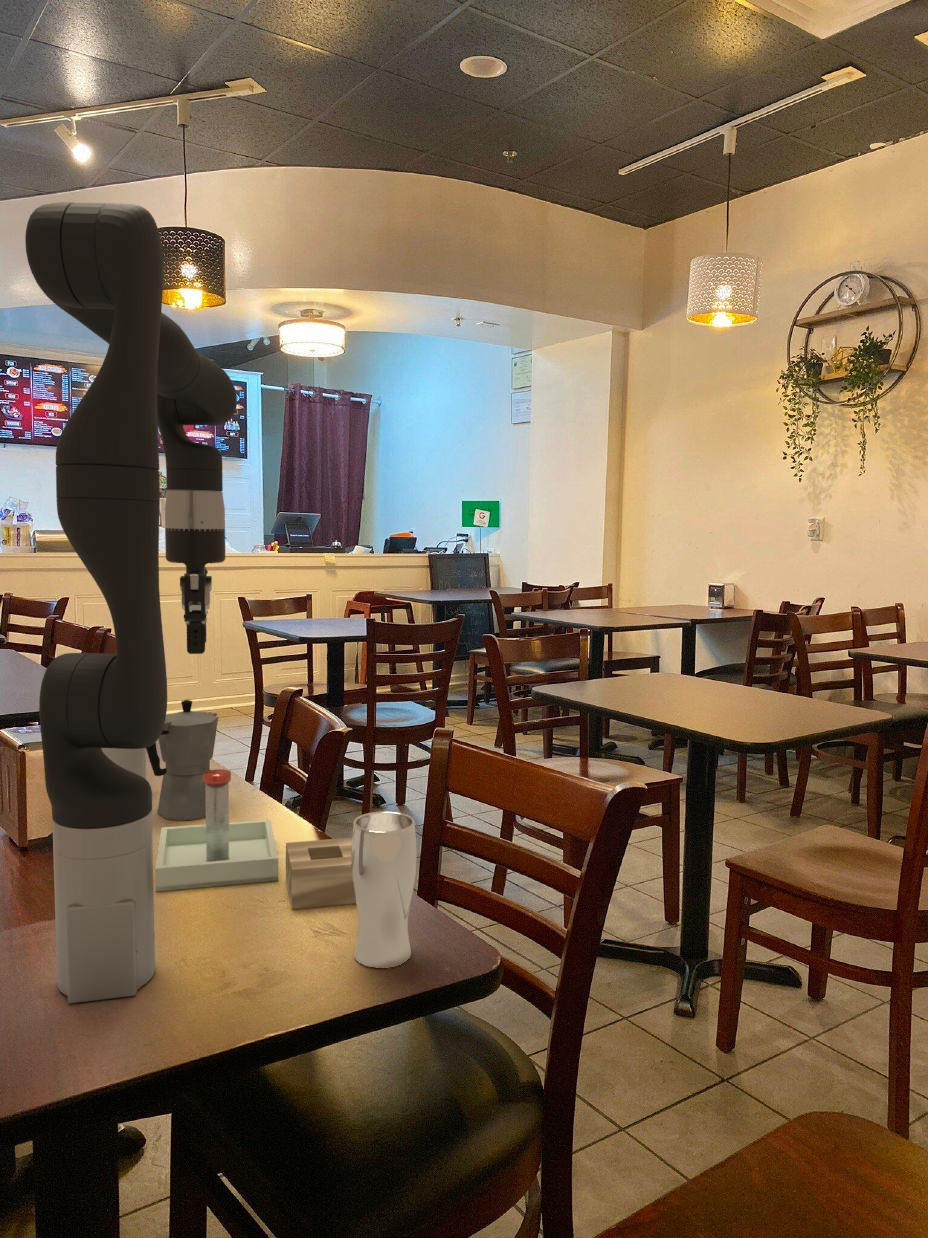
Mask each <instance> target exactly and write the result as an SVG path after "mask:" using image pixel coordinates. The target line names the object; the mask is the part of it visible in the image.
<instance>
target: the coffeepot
mask: <svg viewBox="0 0 928 1238" xmlns="http://www.w3.org/2000/svg"><path fill="white" fill-rule="evenodd" d="M192 705H193V700H190V699H185V700H182V701H181V707H182V711H178V712H174V713H169V714H166V719H165V723H164V727H163V730H162V733H161V735H160V737H159V738H158V744H159V749H160V753H161V754H160V755H161V758H160V756H159V754H158V749H157V743H156V742H155V743H154V744H153V745H152V746H150V747H147V748H145V751H146V753H147V756H148V759H149V762H150V763H149V764H150V766H151V768H152V772H153V775H154V776H155V777H161V776H162V781H161V789H160V793H159V794H160V795H159V801H158V806H157V814H158V815H159V816H160V817H161V818H163V819H166V820H168V821H176V822H177V821H178V822H181V821H182V822H183V821H185V822H187V821H197V820H201V819H206V795H205V783H204V782H203V773H204V772H206V771H209V770H211V766H210V765H211V762H210V761H211V760H212V758H213V757H214V750H215V743H216V742H215V741H216V737H217V729H218V728H217V727H218V724H219V723H218V721H219V717H218V713H216V712H211V711H209V712H208V711H193V710H192ZM161 759H162V761H163V762H164V763H165V767H164V768H161V765H160V764H161Z"/></svg>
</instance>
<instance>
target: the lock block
mask: <svg viewBox="0 0 928 1238" xmlns="http://www.w3.org/2000/svg"><path fill="white" fill-rule="evenodd" d="M351 847H352V837H344V838H342V837H341V838H329V839H317V840H304V841H292V842H291V841H290V842H285V882H286V886H287V887H286V888H287V891H288V892H287V893H288V896H289V901H290V907H291V910H302V909H310V908H321V907H322V908H323V907H331V906H332V907H333V906H341V905H342V906H343V905H350V904H351V905H352V904H356V900H355V895H354V889H353V882H352V874H351Z"/></svg>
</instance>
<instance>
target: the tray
mask: <svg viewBox="0 0 928 1238" xmlns="http://www.w3.org/2000/svg"><path fill="white" fill-rule="evenodd" d="M156 856H157V857H156V861H155V868H154V869H155V871H154V873H155V892H168V891H176V890H177V891H178V890H189V889H190V890H191V889H199V888H210V887H211V888H212V887H221V886H223V887H224V886H233V885H243V884H246V885H247V884H255V883H257V884H258V883H265V882H266V883H267V882H277V881H279V856H278V851H277V845H276V841H275V835H274V830H273V825H272V821H271V819H263V820H251V821H250V820H249V821H235V822H234V821H233V822H229V860H223V861H211V862H207V861H206V823H205V824H193V825H180V826H179V825H178V826H176V825H175V826H165V827H164V826H163V827H161V829H160V835H159V843H158V849H157V855H156Z"/></svg>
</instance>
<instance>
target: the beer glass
mask: <svg viewBox="0 0 928 1238" xmlns="http://www.w3.org/2000/svg"><path fill="white" fill-rule="evenodd" d="M352 827H353V828H352V837H351V838H352V847H351V874H352V882H353V889H354V895H355V900H356V903H355V904H356V911H357V920H358V925H357V927H358V929H357V937H356V942H355V947H354V959H355V961H356V962H357V961H358V962H357V963H359V964H360V963H361V964H363V965H366V966H372V967H376V968H379V967H384V968H385V967H391V966H397V965H400V966H402V965H403V964H402V963H404V962H405V963H407V962H408V961H409V960H410V958H411V954H412V949H411V944H410V937H409V930H408V929H409V928H408V923H409V913H410V907H411V902H412V897H413V892H414V887H415V882H416V881H415V880H416V874H417V873H416V872H417V837H416V836H417V835H416V821H415V818H413V817H412V816H411V815H408V814H407V813H402V812H398V811H397V812H396V811H386V810H385V811H384V810H383V811H372V812H368V813H367V812H366V813H364V814H360V815H359V816H357V817H356V818H354V819H353V826H352ZM408 959H409V960H408ZM407 960H408V961H407ZM406 961H407V962H406ZM405 963H404V964H405ZM361 964H360V965H361ZM401 964H402V965H401ZM363 965H362V966H363ZM366 966H365V967H366ZM397 967H398V966H397Z"/></svg>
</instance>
